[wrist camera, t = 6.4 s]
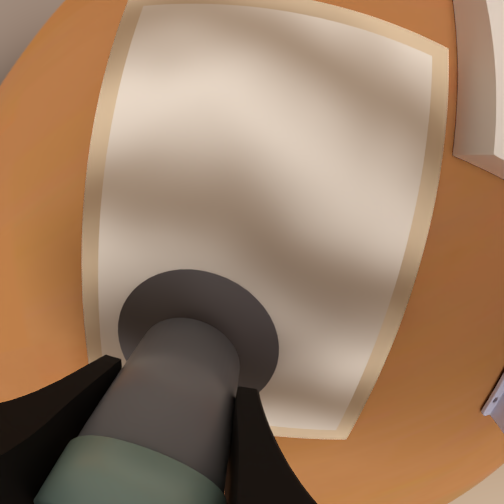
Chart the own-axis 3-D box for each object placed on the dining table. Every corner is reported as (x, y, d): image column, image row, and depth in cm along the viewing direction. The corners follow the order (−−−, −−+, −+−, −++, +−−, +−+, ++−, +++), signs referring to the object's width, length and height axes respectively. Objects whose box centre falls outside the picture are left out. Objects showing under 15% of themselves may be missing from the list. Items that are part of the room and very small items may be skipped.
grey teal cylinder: (234, 409, 12) (211, 583, 4) (139, 388, 12) (64, 538, 4) (251, 327, 11) (230, 551, 3) (138, 304, 11) (4, 468, 3)
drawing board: (342, 427, 15) (347, 443, 13) (100, 384, 15) (91, 397, 13) (438, 54, 10) (451, 46, 8) (138, 2, 10) (128, -10, 8)
